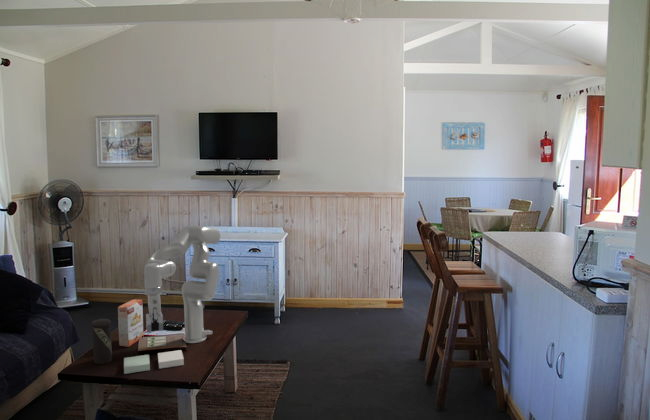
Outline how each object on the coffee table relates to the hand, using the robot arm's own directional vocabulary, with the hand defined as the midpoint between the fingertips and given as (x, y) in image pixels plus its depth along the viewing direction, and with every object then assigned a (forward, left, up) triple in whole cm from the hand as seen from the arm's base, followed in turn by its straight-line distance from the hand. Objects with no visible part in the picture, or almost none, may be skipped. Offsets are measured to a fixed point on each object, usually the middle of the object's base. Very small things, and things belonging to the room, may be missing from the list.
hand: (154, 327), depth 232 cm
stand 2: (-7, 0, -18) cm, 19 cm away
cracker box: (+10, -33, -18) cm, 39 cm away
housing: (0, 0, -1) cm, 1 cm away
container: (+23, -13, -18) cm, 32 cm away
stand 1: (+8, 0, -18) cm, 20 cm away
